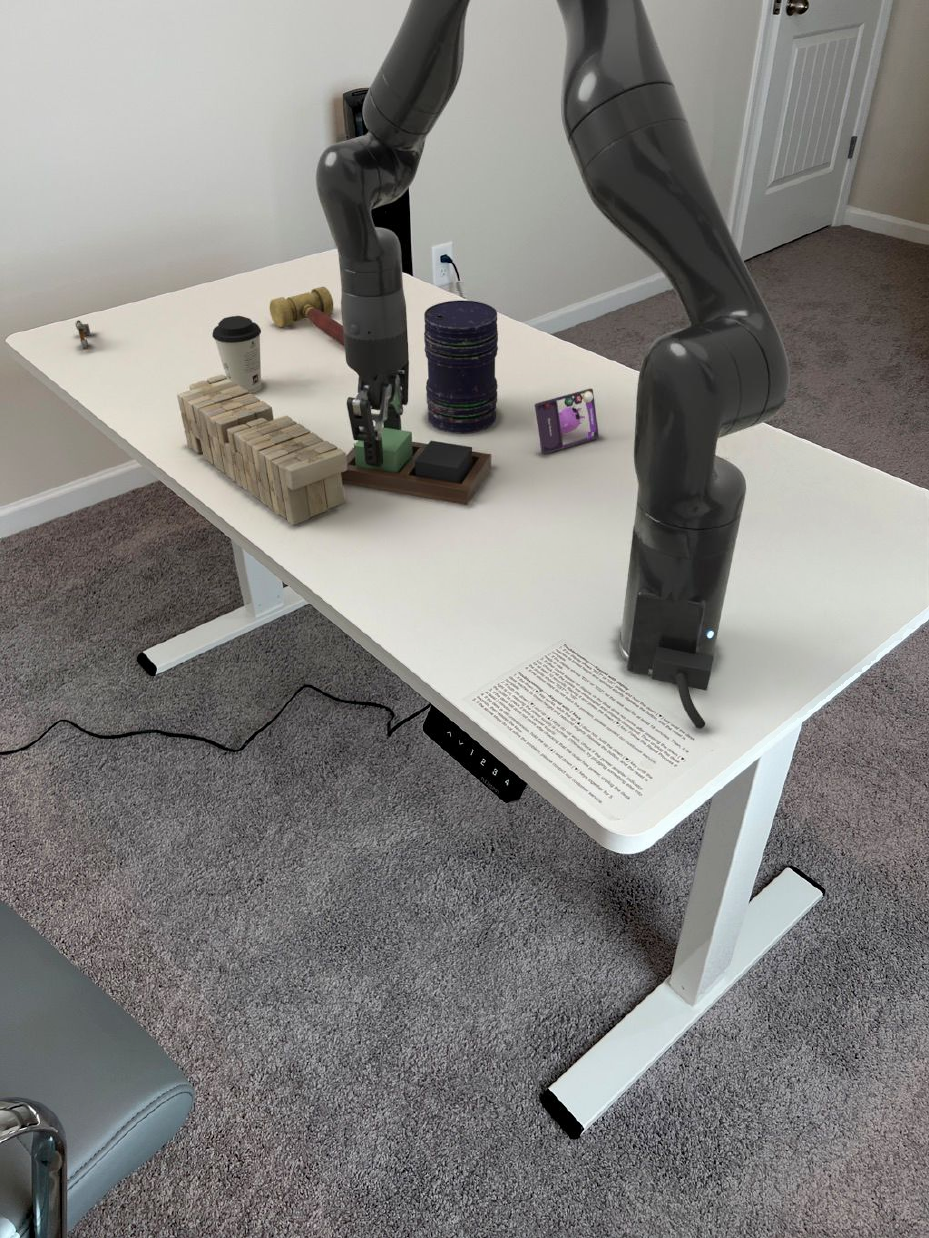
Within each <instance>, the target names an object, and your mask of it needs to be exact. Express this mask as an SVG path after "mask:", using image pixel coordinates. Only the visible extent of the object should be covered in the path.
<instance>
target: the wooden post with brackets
mask: <svg viewBox="0 0 929 1238" xmlns="http://www.w3.org/2000/svg"><path fill="white" fill-rule="evenodd" d="M75 328H76V330H77V331H78V335H79V338H80V340H79V342H80V345H81V348H82V350H84V351H85V350H87V349H88V348H87V347H89V341H88V339H87V338H86V339H85V336H91V329H90V325H89V323H82V321H81V320H80V319H79V320H76V322H75Z"/></svg>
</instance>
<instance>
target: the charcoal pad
mask: <svg viewBox="0 0 929 1238" xmlns="http://www.w3.org/2000/svg"><path fill="white" fill-rule="evenodd" d="M427 444H428V445H427V446H426V447H425V449H424V450H423V451H422V453H421V454H420V455H419V456H418V458H417V459H416V460H415V473H416V476H417V477H423V478H428V479H434V480H440V481H446V482H452V483H458V484H462V482H463V481H464V480H465V478H466V477H467V475H468V474H469V472H470V471H471V469H472V451H473V447H472V446H469V445H463V444H462V445H461V444H455V443H449V442H443V441H437V440H430V441H429V442H428V443H427Z"/></svg>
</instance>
